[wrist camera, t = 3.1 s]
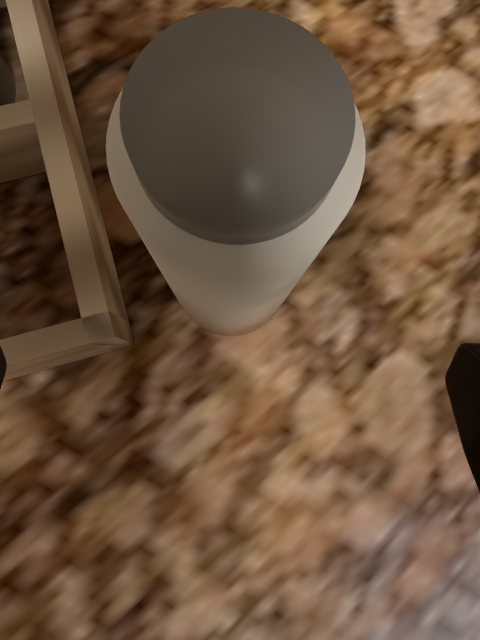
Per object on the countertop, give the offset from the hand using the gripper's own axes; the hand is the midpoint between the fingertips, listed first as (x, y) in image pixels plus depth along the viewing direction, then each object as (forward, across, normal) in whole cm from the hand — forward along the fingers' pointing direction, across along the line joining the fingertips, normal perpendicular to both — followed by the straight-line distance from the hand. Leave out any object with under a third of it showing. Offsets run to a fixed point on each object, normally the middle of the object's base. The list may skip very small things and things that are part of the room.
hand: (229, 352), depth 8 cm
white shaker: (+10, 0, +5) cm, 11 cm away
